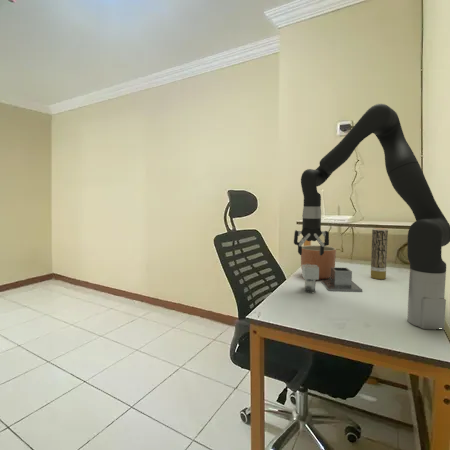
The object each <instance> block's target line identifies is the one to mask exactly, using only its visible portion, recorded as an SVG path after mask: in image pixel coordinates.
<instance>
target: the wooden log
mask: <svg viewBox="0 0 450 450" xmlns="http://www.w3.org/2000/svg"><path fill="white" fill-rule="evenodd" d="M388 229H389V228H385V227H384V228H381V227H380V228H379V227H377V228H376V227H374V228H372V231H371V256H370V258H371V260H370V261H371V262H370V278H372V279H375V280H385V279H386V278H387V261H388V234H389V230H388Z"/></svg>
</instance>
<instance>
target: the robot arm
mask: <svg viewBox="0 0 450 450" xmlns="http://www.w3.org/2000/svg"><path fill="white" fill-rule="evenodd" d="M399 117H400V116H399V115H398V113H397V112H396V111H395V110H394V109H393V108H392V107H390V106H389V105H387V104H385V103H376V104H374V105H372V106H371V107H369V108H368V109H367V110H366V111H365V112H364V114H362V115H361V117H360V118H359V119H358V121H357V122H356V123H355V124H354V125H353V127H352V128H351V129H350V130H349V131H348V133H347V134H345V136H344V137H343V138H342V139H341V140H340V141H339V142H338V143H337V144H336V146H334V147H333V148H332V149H331V150H330V151H329V152H327V154H325V155H324V156H323V157H322V158H321V160H319V166H318V167H316V168H315V169H312V168H307V169H305V170H304V171H303V172H302V173H301V177H300V184H301V185H300V187H301V192H302V195H303V207H302V217H301V218H302V223H301V224H302V228H301V231H300V230H296V229H295V230H294V236H293V244H294V245H296V246H297V252H298V255H300V256H301V255H302V246H303V244H304V243H305V242H306V241H307V242H316V241H317V242H318V244H319V246H320V255H322V254H324V246H329V245H330V239H329V238H330V236H329V235H330V234H329V231H328V230H322V229H321V228H322V207H321V206H322V197H321V196H322V195H321V193H320V192H318V188H317V187H319V186H322V185H323V184H324V183H325V182H326V181H327V180H328V179H329V178H330V177H331V176H332V174H333V173H334V172H335V171H336V170H338V169H339V168H340V167H341V166H342V165H344V163H346V162H347V161H348V159H349V158H350V157H351V156H352V154H353V153H354V151H355V150H356V149H357V147H358V146H359V145H360V144H361V142H363V141H364V140H366V138H368V137H369V136H370V135H372V134H374V135H375V137H376V138H377V140H378V142H379V143H380V146H381V147H382V151H383V152H384V153H383V154H384V164H385V171H386V173H387V176H388V179H389V181H390V183H391V186H392V187H393V189H394V191H395V192H396V193H397V194H398V196H399V197H400V198H401V199H402V200H403V201H404V202H405V204H406V205H407V206H408V207H409V209H410V210H411V212H412V214H413V216H414V218H415V221H414V222H413V223H412V224H411V225H410V226H409V229H408V231H407V260H408V262H409V274H408V275H409V276H408V277H409V278H408V300H407V316H406V317H407V318H406V319H407V322H408V323H409V324H411V325H413V326H416V327H418V328H420V329H422V330H436V329H439V328H442V329H443V330H442V331H444V330H445V321H446V319H445V318H446V304H447V303H446V301H447V300H446V299H445V295H446V291H445V290H446V277H447V276H446V275H447V263H446V262H445V261H444V260H443V258H442V248H443V247H445V246H447V245H448V244H449V243H450V223H449V221H448V220H447V218H446V216H445V215H444V213H443V212H442V210H441V208H440V206H439V204H437V201H436V200H435V198H434V195H433V193H432V190H431V188H430V186H429V183H428V181H427V179H426V177H425V173H424V171H423V170H422V168H421V165H420V164H419V160H418V159H417V157H416V155H415V153H414V152H413V149H412V148H411V146H410V144H409V143H408V142H407V140H406V137H405V134H404V131H403V127H402V125H401V122H400V118H399ZM300 235H302V238H301V239H300V240H298V239H299V236H300ZM321 236H323V237H324V242H323V241H322V240H321V238H320V237H321Z"/></svg>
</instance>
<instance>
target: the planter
mask: <svg viewBox="0 0 450 450" xmlns="http://www.w3.org/2000/svg"><path fill="white" fill-rule="evenodd" d="M336 256H337V248H336V247H333V246H329V245H326V246H324V254H322V255H320V244H319V245H316V244H315V245H313V244H311V245H302V255H300V266H301V269H302V265H305V264H311V265H317V266H318V267H319V280H328V279H330V278H331V267H336Z"/></svg>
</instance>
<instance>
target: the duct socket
mask: <svg viewBox="0 0 450 450" xmlns="http://www.w3.org/2000/svg"><path fill="white" fill-rule="evenodd" d="M320 282H321V284H322V285H323V286H324V287H325V288H326V290H327V291H328V292H346V293H347V292H348V293H350V292H353V293H354V292H355V293H363V289H362V288H361V287H360V286H359V285H358V284H356V283H355V281H353V271H352V270H351V269H350V268H348V267H336V266H335V267H331V277H330V279H320Z"/></svg>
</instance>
